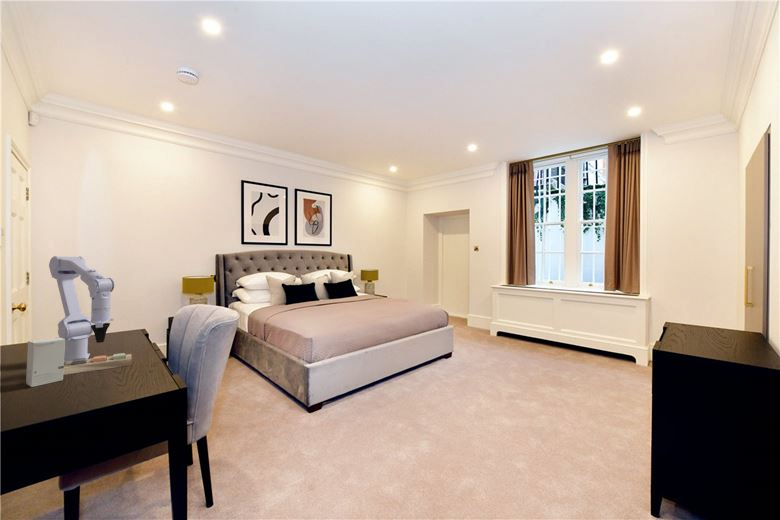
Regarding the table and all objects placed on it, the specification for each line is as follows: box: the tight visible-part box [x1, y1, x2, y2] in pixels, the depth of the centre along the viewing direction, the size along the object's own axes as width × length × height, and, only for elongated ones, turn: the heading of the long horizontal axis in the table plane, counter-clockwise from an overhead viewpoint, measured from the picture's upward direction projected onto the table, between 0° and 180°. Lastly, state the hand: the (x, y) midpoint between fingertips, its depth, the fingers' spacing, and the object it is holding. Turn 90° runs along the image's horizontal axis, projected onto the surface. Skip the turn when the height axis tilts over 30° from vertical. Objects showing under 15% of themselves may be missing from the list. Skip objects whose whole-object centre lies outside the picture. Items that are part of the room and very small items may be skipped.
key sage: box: [112, 352, 126, 360], centre depth 135 cm, size 4×4×2 cm
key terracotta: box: [93, 355, 107, 363], centre depth 131 cm, size 4×4×2 cm
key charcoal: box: [72, 358, 86, 365], centre depth 127 cm, size 4×4×2 cm
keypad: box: [63, 353, 132, 376], centre depth 131 cm, size 9×20×2 cm, turn 128°
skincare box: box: [25, 336, 65, 388], centre depth 115 cm, size 8×6×15 cm
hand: (100, 342), depth 132 cm, fingers closed
